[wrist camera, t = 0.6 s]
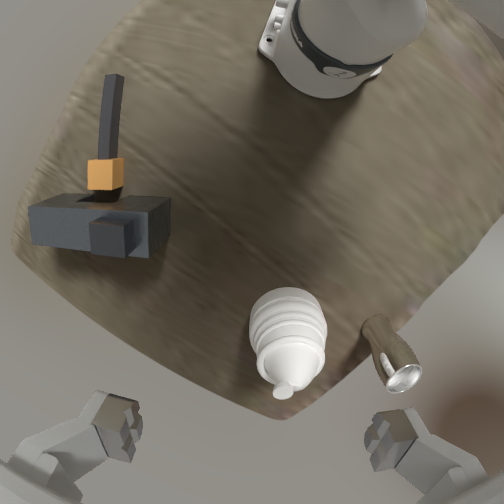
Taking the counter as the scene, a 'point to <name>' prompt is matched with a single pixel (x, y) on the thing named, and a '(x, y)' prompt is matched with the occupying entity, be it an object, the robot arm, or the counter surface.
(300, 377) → the honey pot
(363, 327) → the beer glass
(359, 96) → the counter surface
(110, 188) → the plug
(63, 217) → the grey block
